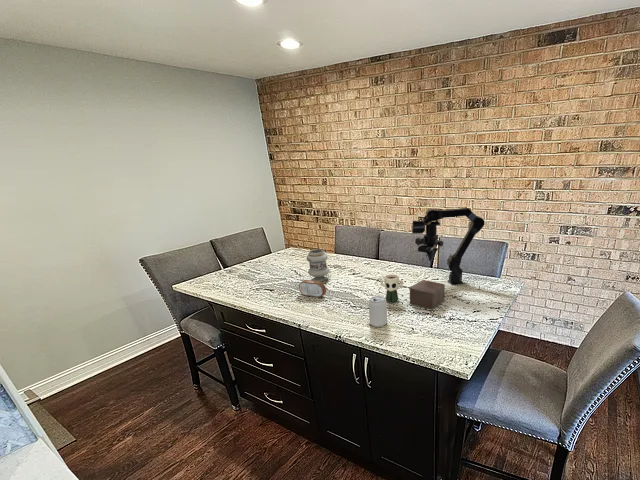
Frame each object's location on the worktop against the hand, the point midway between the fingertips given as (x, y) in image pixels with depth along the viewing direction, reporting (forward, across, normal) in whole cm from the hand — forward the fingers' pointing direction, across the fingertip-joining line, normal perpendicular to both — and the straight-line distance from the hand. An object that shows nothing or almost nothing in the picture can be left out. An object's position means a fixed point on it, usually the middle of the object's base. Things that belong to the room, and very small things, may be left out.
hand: (430, 261), depth 187 cm
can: (+13, +56, +5) cm, 58 cm away
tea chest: (+13, +24, +12) cm, 30 cm away
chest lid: (+5, +25, +12) cm, 28 cm away
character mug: (+13, +32, -4) cm, 35 cm away
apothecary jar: (+13, +29, -58) cm, 67 cm away
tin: (+13, +49, -43) cm, 66 cm away
